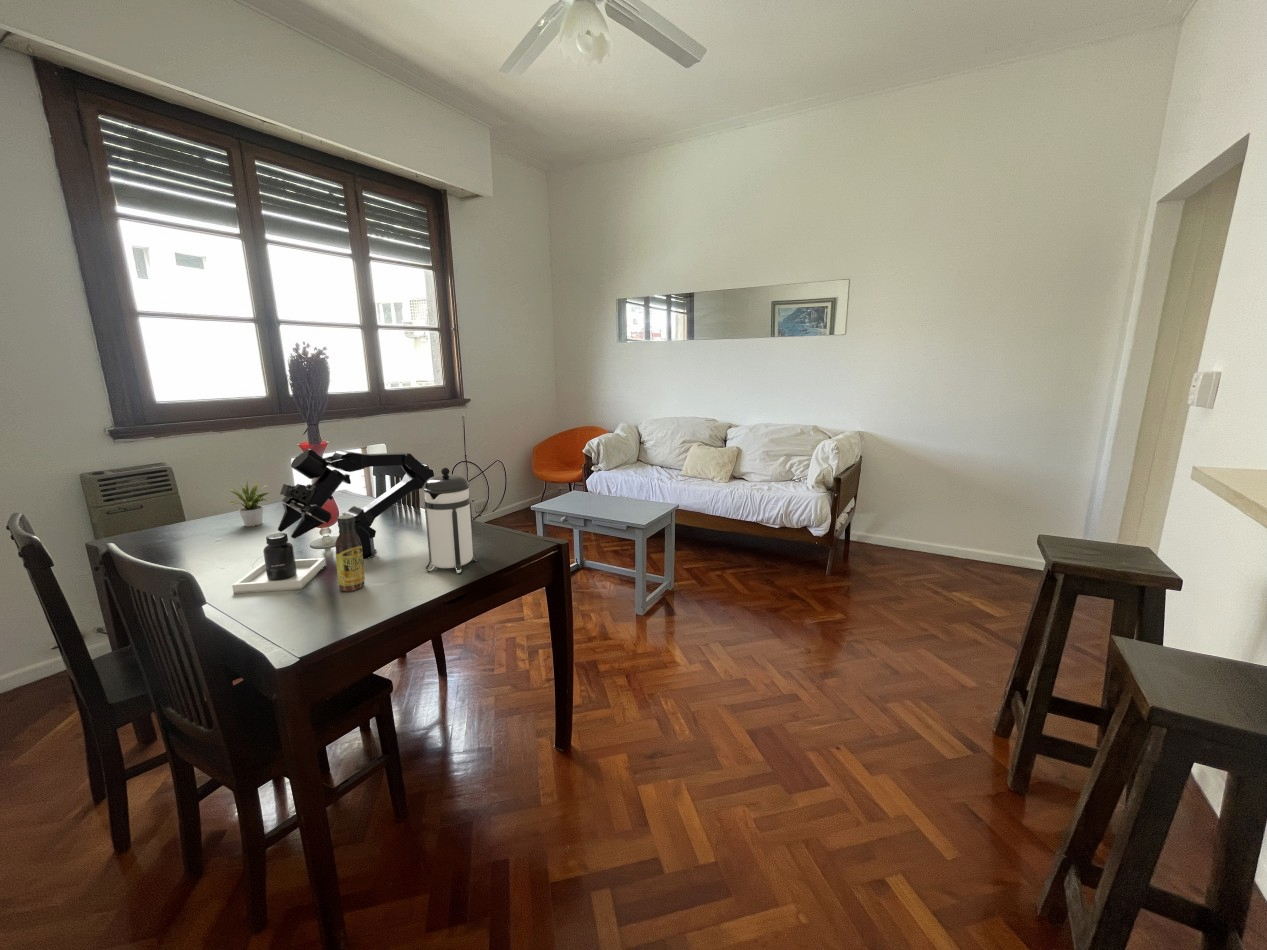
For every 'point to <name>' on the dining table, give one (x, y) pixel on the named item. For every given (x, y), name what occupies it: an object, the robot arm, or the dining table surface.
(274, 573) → the supplement bottle
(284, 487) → the robot arm
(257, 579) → the tray
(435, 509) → the coffee press
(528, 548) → the dining table surface
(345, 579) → the sauce bottle
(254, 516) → the house plant
